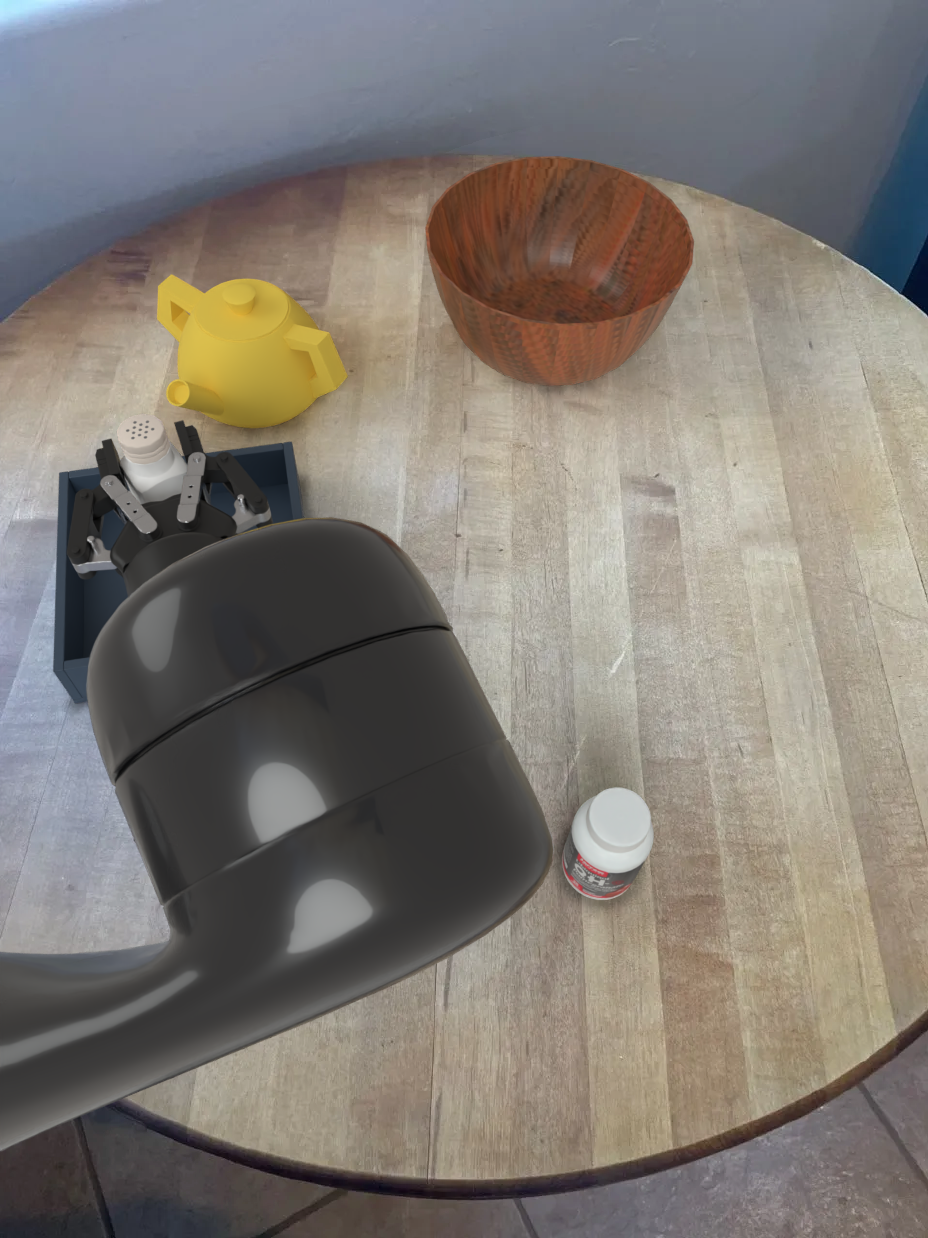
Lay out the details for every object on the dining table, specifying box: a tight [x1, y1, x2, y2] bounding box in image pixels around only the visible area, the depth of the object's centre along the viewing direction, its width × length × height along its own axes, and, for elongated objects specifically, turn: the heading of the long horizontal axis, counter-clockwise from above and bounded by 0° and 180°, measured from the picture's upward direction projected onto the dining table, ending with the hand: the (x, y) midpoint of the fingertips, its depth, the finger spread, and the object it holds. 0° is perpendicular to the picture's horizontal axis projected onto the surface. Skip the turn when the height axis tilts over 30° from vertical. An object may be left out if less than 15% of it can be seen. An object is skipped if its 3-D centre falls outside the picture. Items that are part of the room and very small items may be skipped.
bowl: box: [424, 155, 695, 387], centre depth 94 cm, size 25×25×11 cm
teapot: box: [156, 273, 349, 429], centre depth 88 cm, size 20×18×11 cm
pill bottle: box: [561, 786, 655, 901], centre depth 65 cm, size 5×5×10 cm
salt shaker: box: [116, 413, 187, 504], centre depth 70 cm, size 4×4×10 cm
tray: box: [52, 441, 306, 704], centre depth 79 cm, size 20×20×5 cm
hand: (145, 439), depth 70 cm, fingers closed on salt shaker, 4 cm apart
